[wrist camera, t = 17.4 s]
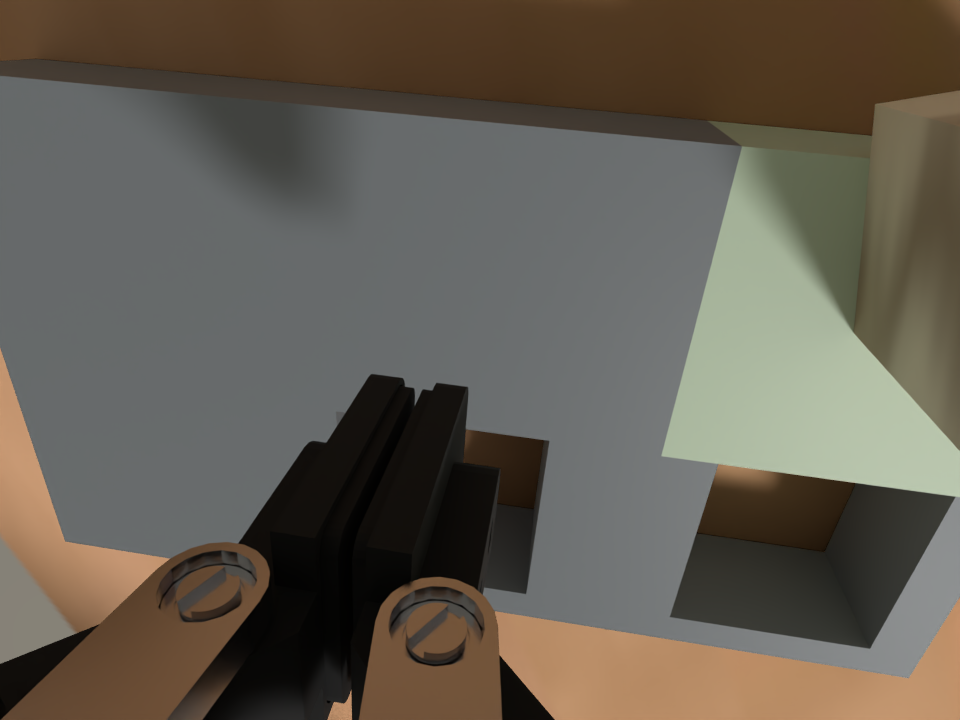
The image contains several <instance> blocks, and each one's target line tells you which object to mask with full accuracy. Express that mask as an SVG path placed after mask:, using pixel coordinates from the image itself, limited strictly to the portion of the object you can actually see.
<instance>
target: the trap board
mask: <svg viewBox="0 0 960 720" xmlns="http://www.w3.org/2000/svg"><path fill="white" fill-rule="evenodd" d="M871 143H872V136H869V135H858V134H847V133H836V132H825V131H814V130H804V129H793V128H782V127H771V126H760V125H749V124H738V123H728V122H717V121H706V120H695V119H684V118H673V117H662V116H651V115H641V114H630V113H619V112H608V111H597V110H586V109H575V108H564V107H554V106H543V105H532V104H521V103H510V102H499V101H488V100H478V99H467V98H456V97H445V96H434V95H423V94H412V93H401V92H391V91H380V90H369V89H358V88H347V87H336V86H325V85H314V84H304V83H293V82H282V81H271V80H260V79H249V78H238V77H227V76H217V75H206V74H195V73H184V72H173V71H162V70H151V69H141V68H130V67H119V66H108V65H97V64H86V63H75V62H64V61H54V60H43V59H26V60H10V61H0V348H1V351H2V354H3V357H4V360H5V363H6V366H7V369H8V372H9V375H10V378H11V381H12V384H13V387H14V390H15V393H16V396H17V399H18V402H19V405H20V408H21V411H22V414H23V417H24V420H25V423H26V426H27V429H28V432H29V435H30V438H31V441H32V444H33V447H34V450H35V453H36V456H37V459H38V461H39V464H40V467H41V470H42V473H43V476H44V479H45V482H46V485H47V488H48V491H49V494H50V497H51V500H52V503H53V506H54V509H55V512H56V515H57V518H58V521H59V524H60V527H61V530H62V533H63V536H64V539H65V541H66V542H72V543H78V544H84V545H90V546H97V547H103V548H109V549H115V550H121V551H128V552H134V553H140V554H146V555H152V556H158V557H165V558H172V557H174V556H176V555H178V554H180V553H182V552H184V551H186V550H188V549H190V548H193V547H197V546H201V545H205V544H208V543H220V542H231V543H237V544H238V543H239V541H240V540H241V538H242V537H243V536H244V534H245V533H246V531H247V530H248V528H249V527H250V525H251V524H252V522H253V521H254V520H255V518H256V517H257V515H258V514H259V512H260V511H261V509H262V508H263V506H264V505H265V504H266V502H267V501H268V499H269V498H270V496H271V495H272V493H273V492H274V490H275V489H276V488H277V486H278V485H279V483H280V482H281V480H282V479H283V477H284V476H285V475H286V473H287V472H288V470H289V469H290V467H291V466H292V464H293V463H294V461H295V460H296V459H297V457H298V456H299V454H300V453H301V451H302V450H303V448H304V447H305V446H306V445H307V444H308V443H309V442H311V441H319V442H327V441H328V439H329V438H330V436H331V435H332V433H333V431H334V430H335V428H336V427H337V425H338V424H339V422H340V421H341V419H342V417H343V416H344V414H345V413H346V411H347V410H348V408H349V406H350V405H351V403H352V402H353V400H354V399H355V397H356V396H357V394H358V392H359V391H360V389H361V388H362V386H363V385H364V383H365V382H366V380H367V378H368V377H369V376H370V375H371V374H377V375H385V376H392V377H399V378H403V379H404V382H405V387H411V388H414V389H415V405H416V402H417V400H418V398H419V396H420V394H421V391H422V390H423V389H426V390H433V388H434V386H435V384H436V383H443V384H450V385H458V386H465V387H468V407H467V420H466V429H467V430H475V431H482V432H489V433H497V434H504V435H511V436H518V437H526V438H533V439H540V440H544V443H543V450H542V457H541V464H540V470H539V477H538V484H537V491H536V498H535V504H534V509H528V508H522V507H515V506H508V505H501V504H497V508H496V516H495V523H494V530H493V537H492V544H491V550H490V556H489V562H488V568H487V574H486V580H485V585H484V591H483V596H485V597H486V599H487V600H488V602H489V603H490V605H491V606H492V608H493V609H494V611H498V612H504V613H510V614H516V615H522V616H529V617H535V618H541V619H547V620H553V621H559V622H566V623H572V624H578V625H584V626H590V627H597V628H603V629H609V630H615V631H621V632H627V633H634V634H640V635H646V636H652V637H658V638H664V639H671V640H677V641H683V642H689V643H695V644H701V645H708V646H714V647H720V648H726V649H732V650H738V651H745V652H751V653H757V654H763V655H769V656H775V657H782V658H788V659H794V660H800V661H806V662H812V663H819V664H825V665H831V666H837V667H843V668H850V669H856V670H862V671H868V672H874V673H880V674H887V675H893V676H899V677H905V678H909V677H910V675H911V673H912V672H913V670H914V669H915V667H916V665H917V664H918V662H919V661H920V659H921V658H922V656H923V654H924V653H925V651H926V650H927V648H928V646H929V645H930V643H931V642H932V640H933V639H934V637H935V635H936V634H937V632H938V631H939V629H940V627H941V626H942V624H943V623H944V621H945V619H946V618H947V616H948V615H949V613H950V612H951V610H952V608H953V607H954V605H955V604H956V602H957V600H958V599H959V597H960V451H959V450H958V449H957V448H956V446H955V445H954V444H953V443H952V442H951V441H950V440H949V439H948V438H947V436H946V435H945V434H944V433H943V432H942V431H941V430H940V429H939V428H938V426H937V425H936V424H935V423H934V422H933V421H932V420H931V419H930V418H929V416H928V415H927V414H926V413H925V412H924V411H923V410H922V409H921V408H920V406H919V405H918V404H917V403H916V402H915V401H914V400H913V399H912V398H911V396H910V395H909V394H908V393H907V392H906V391H905V390H904V389H903V388H902V386H901V385H900V384H899V383H898V382H897V381H896V380H895V379H894V378H893V376H892V375H891V374H890V373H889V372H888V371H887V370H886V369H885V368H884V366H883V365H882V364H881V363H880V362H879V361H878V360H877V359H876V358H875V356H874V355H873V354H872V353H871V352H870V351H869V350H868V349H867V348H866V346H865V345H864V344H863V343H862V342H861V341H860V340H859V339H858V338H857V336H856V335H855V334H854V323H855V312H856V301H857V291H858V280H859V270H860V259H861V249H862V238H863V227H864V217H865V206H866V196H867V185H868V175H869V164H870V153H871ZM718 464H722V465H729V466H736V467H744V468H751V469H758V470H765V471H773V472H780V473H787V474H794V475H802V476H809V477H816V478H823V479H831V480H838V481H845V482H853V483H856V484H855V487H854V489H853V491H852V493H851V495H850V498H849V500H848V502H847V504H846V506H845V508H844V511H843V513H842V515H841V517H840V519H839V522H838V524H837V526H836V528H835V530H834V532H833V535H832V537H831V539H830V541H829V543H828V545H827V548H826V550H825V552H820V551H814V550H807V549H800V548H793V547H787V546H780V545H773V544H766V543H759V542H753V541H746V540H739V539H732V538H725V537H719V536H712V535H705V534H698V533H697V530H698V527H699V523H700V520H701V517H702V514H703V511H704V508H705V504H706V501H707V498H708V495H709V492H710V489H711V486H712V482H713V479H714V476H715V473H716V470H717V467H718Z"/></svg>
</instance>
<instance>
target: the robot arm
mask: <svg viewBox="0 0 960 720" xmlns="http://www.w3.org/2000/svg"><path fill="white" fill-rule="evenodd" d="M467 407H468V387H465V386H458V385H450V384H443V383H436V384H435V386H434V388H433V390H426V389H423V390H422V391H421V394H420V396H419V398H418V400H417V402H416V405H415V389H414V388H411V387H405V382H404V379H403V378H399V377H392V376H385V375H377V374H371V375H370V376H369V377H368V378H367V380H366V382H365V383H364V385H363V386H362V388H361V389H360V391H359V392H358V394H357V396H356V397H355V399H354V400H353V402H352V403H351V405H350V406H349V408H348V410H347V411H346V413H345V414H344V416H343V417H342V419H341V421H340V422H339V424H338V425H337V427H336V428H335V430H334V431H333V433H332V435H331V436H330V438H329V439H328V441H327V442H319V441H311V442H309V443H308V444H307V445H306V446H305V447H304V448H303V450H302V451H301V453H300V454H299V456H298V457H297V459H296V460H295V461H294V463H293V464H292V466H291V467H290V469H289V470H288V472H287V473H286V475H285V476H284V477H283V479H282V480H281V482H280V483H279V485H278V486H277V488H276V489H275V490H274V492H273V493H272V495H271V496H270V498H269V499H268V501H267V502H266V504H265V505H264V506H263V508H262V509H261V511H260V512H259V514H258V515H257V517H256V518H255V520H254V521H253V522H252V524H251V525H250V527H249V528H248V530H247V531H246V533H245V534H244V536H243V537H242V538H241V540H240V541H239V543H238V544H237V543H231V542H220V543H208V544H205V545H201V546H197V547H193V548H190V549H188V550H186V551H184V552H182V553H180V554H178V555H176V556H174V557H172V558H171V559H169V560H168V561H167V562H165V563H164V564H163V565H162V566H160V567H159V568H158V569H157V570H156V571H155V572H154V573H153V574H151V575H150V576H149V577H148V578H147V579H146V580H145V581H144V582H143V583H142V584H141V585H140V586H139V587H138V588H137V589H136V590H135V591H134V592H133V593H132V594H131V595H130V596H129V597H128V598H127V599H126V600H124V601H123V602H122V603H121V604H120V605H119V606H118V607H117V608H116V609H115V610H114V611H113V612H112V613H111V614H110V615H109V616H108V617H107V618H106V619H105V620H104V621H103V622H102V623H101V624H99V625H97V626H94V627H92V628H89V629H87V630H84V631H82V632H79V633H77V634H74V635H72V636H69V637H67V638H64V639H62V640H59V641H57V642H54V643H52V644H49V645H47V646H44V647H42V648H39V649H37V650H34V651H32V652H29V653H27V654H24V655H22V656H19V657H17V658H14V659H12V660H9V661H7V662H4V663H2V664H0V720H327V719H328V716H329V713H330V711H331V708H332V705H333V703H334V702H339V703H345V702H346V701H347V699H348V697H349V694H350V691H351V689H352V720H554V718H553V717H552V716H551V715H550V714H549V713H548V711H547V710H546V709H545V708H544V707H543V706H542V704H541V703H540V702H539V701H538V700H537V699H536V697H535V696H534V695H533V694H532V693H531V692H530V690H529V689H528V688H527V687H526V686H525V685H524V683H523V682H522V681H521V680H520V679H519V678H518V676H517V675H516V674H515V673H514V672H513V670H512V669H511V668H510V667H509V666H508V665H507V663H506V662H505V661H504V660H503V659H502V658H501V656H500V655H499V638H498V624H497V620H496V616H495V611H494V609H493V608H492V606H491V605H490V603H489V602H488V600H487V599H486V597H485V596H483V591H484V585H485V580H486V574H487V568H488V562H489V556H490V550H491V544H492V537H493V530H494V523H495V516H496V508H497V499H498V490H499V482H500V471H501V470H500V468H495V467H488V466H481V465H474V464H468V463H463V457H464V444H465V432H466V420H467Z"/></svg>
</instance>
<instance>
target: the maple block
mask: <svg viewBox="0 0 960 720" xmlns="http://www.w3.org/2000/svg"><path fill="white" fill-rule="evenodd" d="M854 334H855V335H856V336H857V338H858V339H859V340H860V341H861V342H862V343H863V344H864V345H865V346H866V348H867V349H868V350H869V351H870V352H871V353H872V354H873V355H874V356H875V358H876V359H877V360H878V361H879V362H880V363H881V364H882V365H883V366H884V368H885V369H886V370H887V371H888V372H889V373H890V374H891V375H892V376H893V378H894V379H895V380H896V381H897V382H898V383H899V384H900V385H901V386H902V388H903V389H904V390H905V391H906V392H907V393H908V394H909V395H910V396H911V398H912V399H913V400H914V401H915V402H916V403H917V404H918V405H919V406H920V408H921V409H922V410H923V411H924V412H925V413H926V414H927V415H928V416H929V418H930V419H931V420H932V421H933V422H934V423H935V424H936V425H937V426H938V428H939V429H940V430H941V431H942V432H943V433H944V434H945V435H946V436H947V438H948V439H949V440H950V441H951V442H952V443H953V444H954V445H955V446H956V448H957V449H958V450H959V451H960V90H959V91H953V92H947V93H941V94H934V95H928V96H922V97H916V98H910V99H904V100H898V101H891V102H885V103H879V104H875V111H874V122H873V132H872V143H871V153H870V164H869V175H868V185H867V196H866V206H865V217H864V227H863V238H862V249H861V259H860V270H859V280H858V291H857V301H856V312H855V323H854Z"/></svg>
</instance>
